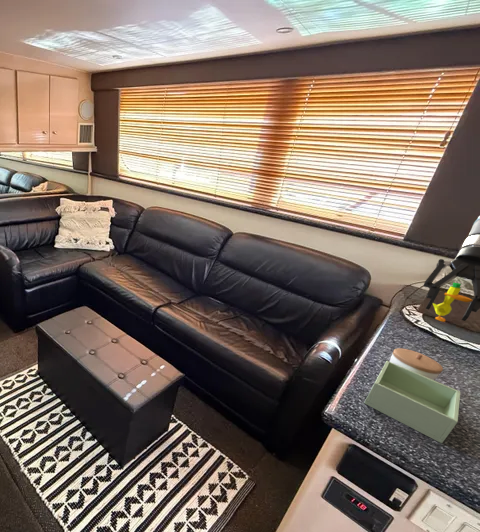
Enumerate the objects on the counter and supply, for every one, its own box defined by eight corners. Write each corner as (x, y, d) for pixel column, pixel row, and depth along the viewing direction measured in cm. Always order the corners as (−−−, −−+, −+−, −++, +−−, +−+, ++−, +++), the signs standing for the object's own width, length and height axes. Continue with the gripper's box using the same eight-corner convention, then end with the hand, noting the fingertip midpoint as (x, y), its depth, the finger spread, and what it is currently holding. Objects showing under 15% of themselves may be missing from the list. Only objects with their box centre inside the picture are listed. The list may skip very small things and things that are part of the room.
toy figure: (457, 323, 95) (479, 287, 91) (456, 327, 93) (479, 290, 88) (426, 313, 100) (445, 279, 95) (424, 316, 98) (444, 281, 93)
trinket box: (425, 397, 91) (442, 370, 88) (378, 374, 99) (392, 349, 96) (433, 384, 97) (449, 359, 93) (388, 364, 105) (401, 340, 101)
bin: (446, 411, 86) (460, 391, 84) (441, 443, 75) (457, 421, 73) (376, 379, 97) (386, 360, 94) (363, 403, 86) (375, 382, 83)
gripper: (524, 271, 92) (492, 334, 88) (429, 250, 106) (398, 304, 102) (537, 256, 87) (504, 322, 83) (436, 236, 101) (403, 292, 97)
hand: (446, 312), depth 93 cm, fingers closed on toy figure, 7 cm apart
